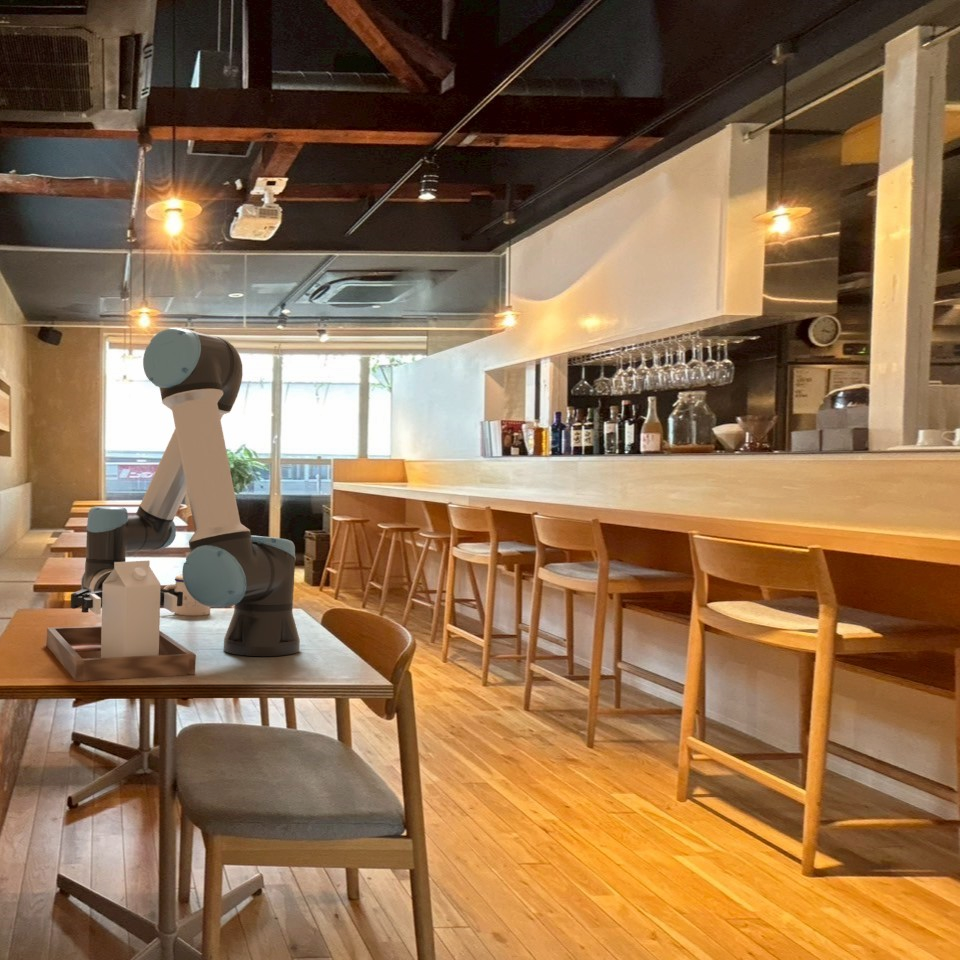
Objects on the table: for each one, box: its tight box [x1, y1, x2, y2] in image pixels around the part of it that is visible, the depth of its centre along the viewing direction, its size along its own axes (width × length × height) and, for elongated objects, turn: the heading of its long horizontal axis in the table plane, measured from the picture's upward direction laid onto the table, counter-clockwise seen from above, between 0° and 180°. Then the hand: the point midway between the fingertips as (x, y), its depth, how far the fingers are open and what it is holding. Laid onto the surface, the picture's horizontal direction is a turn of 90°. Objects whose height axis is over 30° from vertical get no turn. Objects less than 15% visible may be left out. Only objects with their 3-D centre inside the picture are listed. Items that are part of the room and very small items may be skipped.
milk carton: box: [100, 559, 161, 658], centre depth 183 cm, size 7×7×19 cm
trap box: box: [46, 625, 197, 682], centre depth 193 cm, size 20×36×4 cm, turn 30°
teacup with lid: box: [163, 574, 211, 617], centre depth 255 cm, size 12×9×12 cm
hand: (137, 605), depth 179 cm, fingers open, 12 cm apart
